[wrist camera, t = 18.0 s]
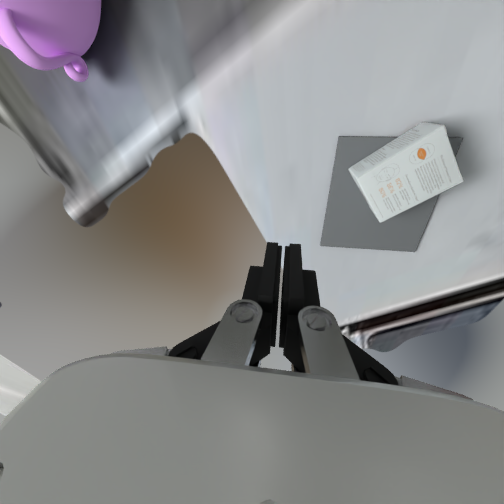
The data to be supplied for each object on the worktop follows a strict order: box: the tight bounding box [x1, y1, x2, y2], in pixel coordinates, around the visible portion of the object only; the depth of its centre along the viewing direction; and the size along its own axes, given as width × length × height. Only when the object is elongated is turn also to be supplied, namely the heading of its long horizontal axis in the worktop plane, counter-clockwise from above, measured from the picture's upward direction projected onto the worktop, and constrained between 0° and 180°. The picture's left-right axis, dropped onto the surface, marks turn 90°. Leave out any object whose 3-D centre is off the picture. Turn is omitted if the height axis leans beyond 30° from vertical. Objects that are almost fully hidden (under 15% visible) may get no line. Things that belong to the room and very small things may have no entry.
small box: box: [348, 122, 464, 223], centre depth 33 cm, size 8×6×10 cm
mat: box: [320, 136, 463, 252], centre depth 38 cm, size 18×16×1 cm
